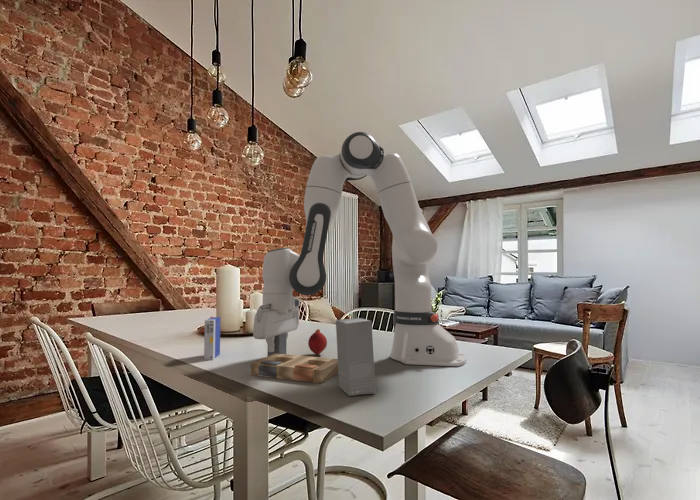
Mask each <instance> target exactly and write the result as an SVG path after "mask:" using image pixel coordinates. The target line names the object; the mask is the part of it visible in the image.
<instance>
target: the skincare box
mask: <svg viewBox="0 0 700 500" xmlns="http://www.w3.org/2000/svg"><path fill="white" fill-rule="evenodd" d="M372 325H373V323H372V320H369V319H365V318H362V317H355V318H354V317H353V318H343V319H341V318H340V319H336V320H335V331H336V350H337V351H336V352H337V359H338V373H337V374H338V387H339V388H340V389H341V390H342V391H344V393H345V394H346V395H348V396H349V397H352V396H360V395H373V394H376V393H377V390H376V388H377V387H376V378H375V377H376V373H375V360H374V359H375V358H374V342H373V340H374V339H373V326H372Z"/></svg>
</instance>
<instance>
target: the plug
mask: <svg viewBox="0 0 700 500" xmlns="http://www.w3.org/2000/svg"><path fill="white" fill-rule="evenodd" d="M287 339H288V337H287V332H285V333H282V334H279V335H277V336H275V340H274V344H275V345H276V351H274V352H269V351H268V350H267V354H266V355H267V356H266V357H268V356H271V355H273V354H287Z"/></svg>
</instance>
